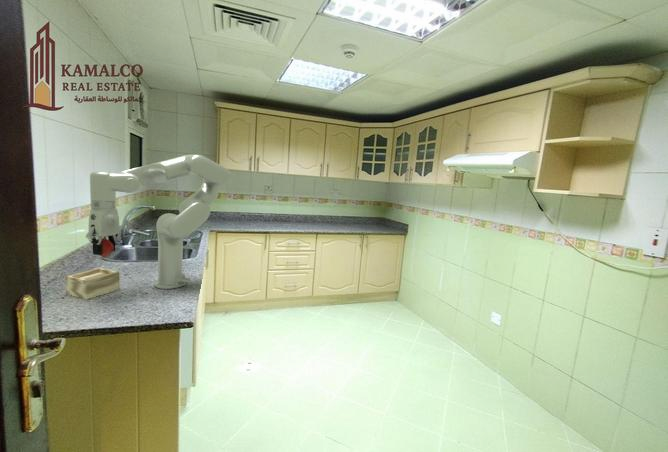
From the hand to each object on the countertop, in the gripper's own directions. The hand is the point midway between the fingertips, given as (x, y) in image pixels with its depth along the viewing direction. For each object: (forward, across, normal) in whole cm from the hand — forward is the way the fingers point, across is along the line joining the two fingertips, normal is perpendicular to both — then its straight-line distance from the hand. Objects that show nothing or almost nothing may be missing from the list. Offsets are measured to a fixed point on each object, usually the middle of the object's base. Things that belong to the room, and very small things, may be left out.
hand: (104, 252), depth 119 cm
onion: (+2, 0, 0) cm, 2 cm away
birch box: (+18, +3, +7) cm, 20 cm away
